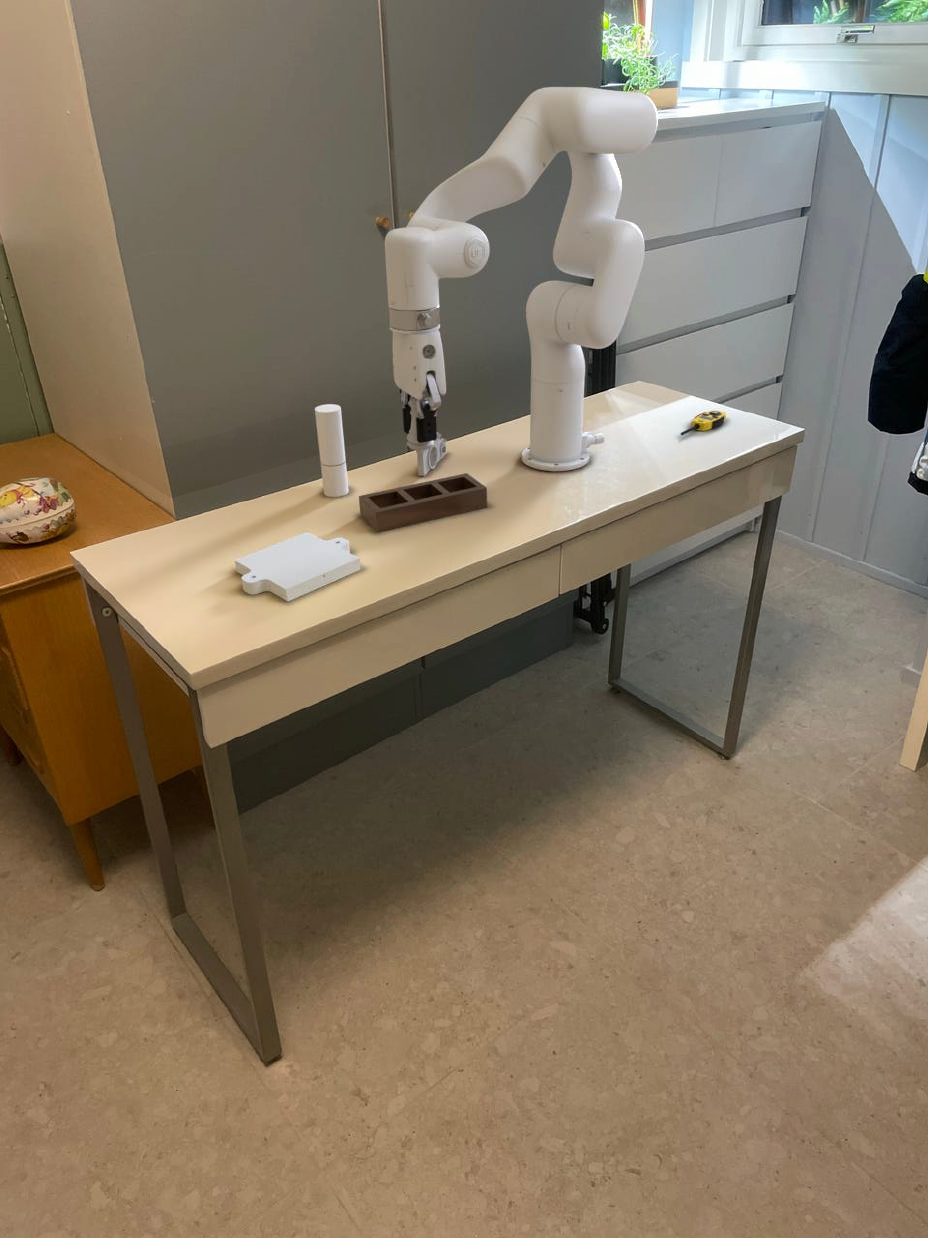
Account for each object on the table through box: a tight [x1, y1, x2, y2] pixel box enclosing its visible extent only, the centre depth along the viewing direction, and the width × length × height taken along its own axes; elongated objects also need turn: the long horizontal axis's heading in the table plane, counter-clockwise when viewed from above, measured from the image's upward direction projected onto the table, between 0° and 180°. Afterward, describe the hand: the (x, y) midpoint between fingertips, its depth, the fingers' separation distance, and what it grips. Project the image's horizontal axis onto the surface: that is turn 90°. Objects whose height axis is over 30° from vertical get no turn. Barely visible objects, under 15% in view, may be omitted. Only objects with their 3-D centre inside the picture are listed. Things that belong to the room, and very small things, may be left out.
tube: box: [314, 403, 349, 498], centre depth 158 cm, size 4×4×15 cm
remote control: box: [680, 409, 727, 436], centre depth 185 cm, size 5×2×15 cm
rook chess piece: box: [406, 394, 434, 451], centre depth 146 cm, size 4×4×8 cm
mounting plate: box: [234, 531, 361, 602], centre depth 136 cm, size 18×13×2 cm
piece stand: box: [358, 472, 488, 533], centre depth 153 cm, size 7×20×4 cm, turn 117°
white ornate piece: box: [415, 431, 448, 477], centre depth 170 cm, size 12×2×6 cm, turn 161°
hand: (420, 434), depth 147 cm, fingers closed on rook chess piece, 4 cm apart
